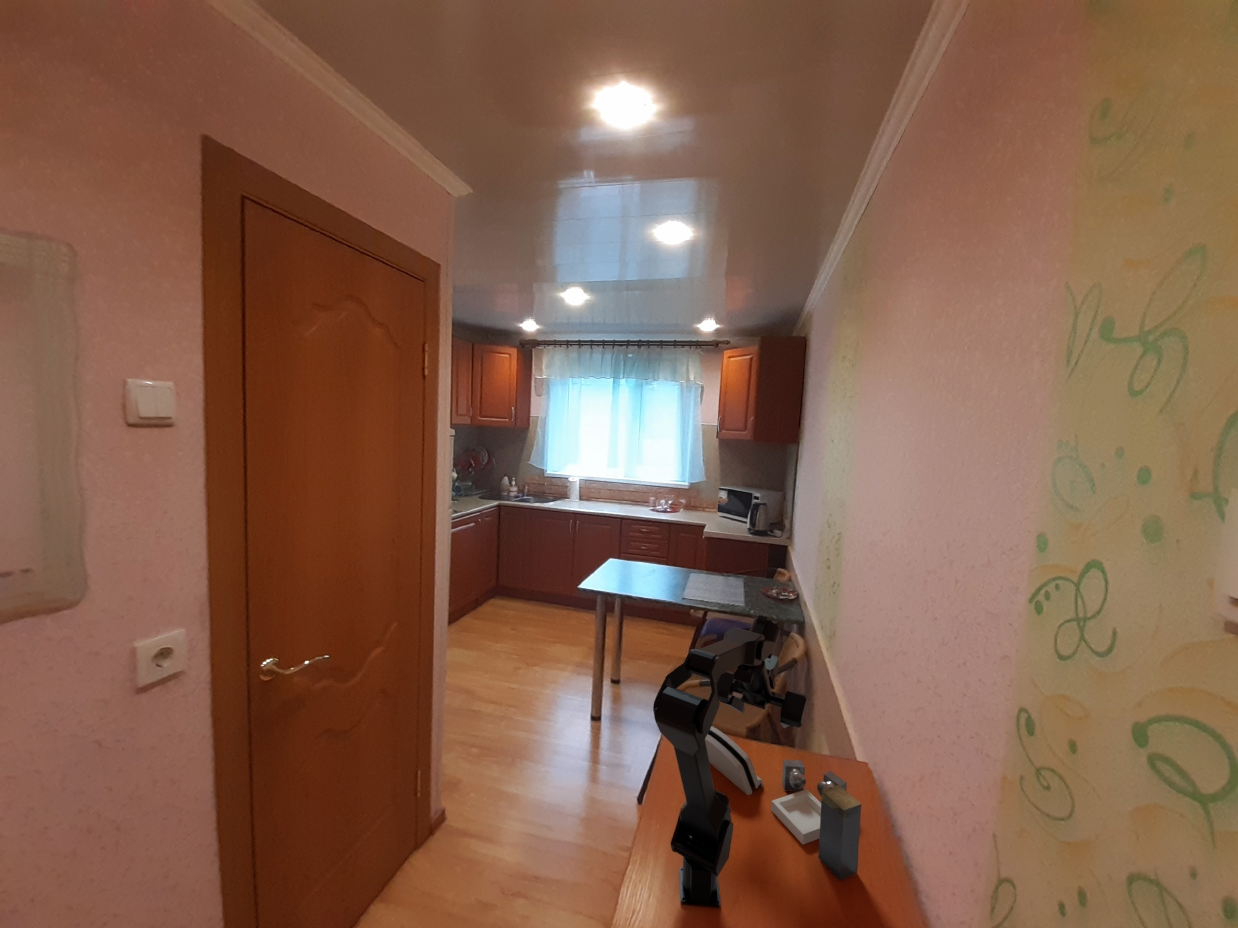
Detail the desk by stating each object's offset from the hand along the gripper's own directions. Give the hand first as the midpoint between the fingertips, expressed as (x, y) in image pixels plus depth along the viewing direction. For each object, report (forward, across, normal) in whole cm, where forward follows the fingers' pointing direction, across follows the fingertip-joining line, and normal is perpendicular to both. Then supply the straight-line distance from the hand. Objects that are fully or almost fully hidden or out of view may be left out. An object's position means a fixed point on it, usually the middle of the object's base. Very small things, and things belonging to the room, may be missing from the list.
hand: (763, 718), depth 110 cm
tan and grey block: (+6, -18, +19) cm, 27 cm away
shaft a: (+14, -14, +6) cm, 20 cm away
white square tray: (+10, -11, +12) cm, 19 cm away
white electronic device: (+12, +8, +9) cm, 17 cm away
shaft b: (+13, -7, +7) cm, 16 cm away
